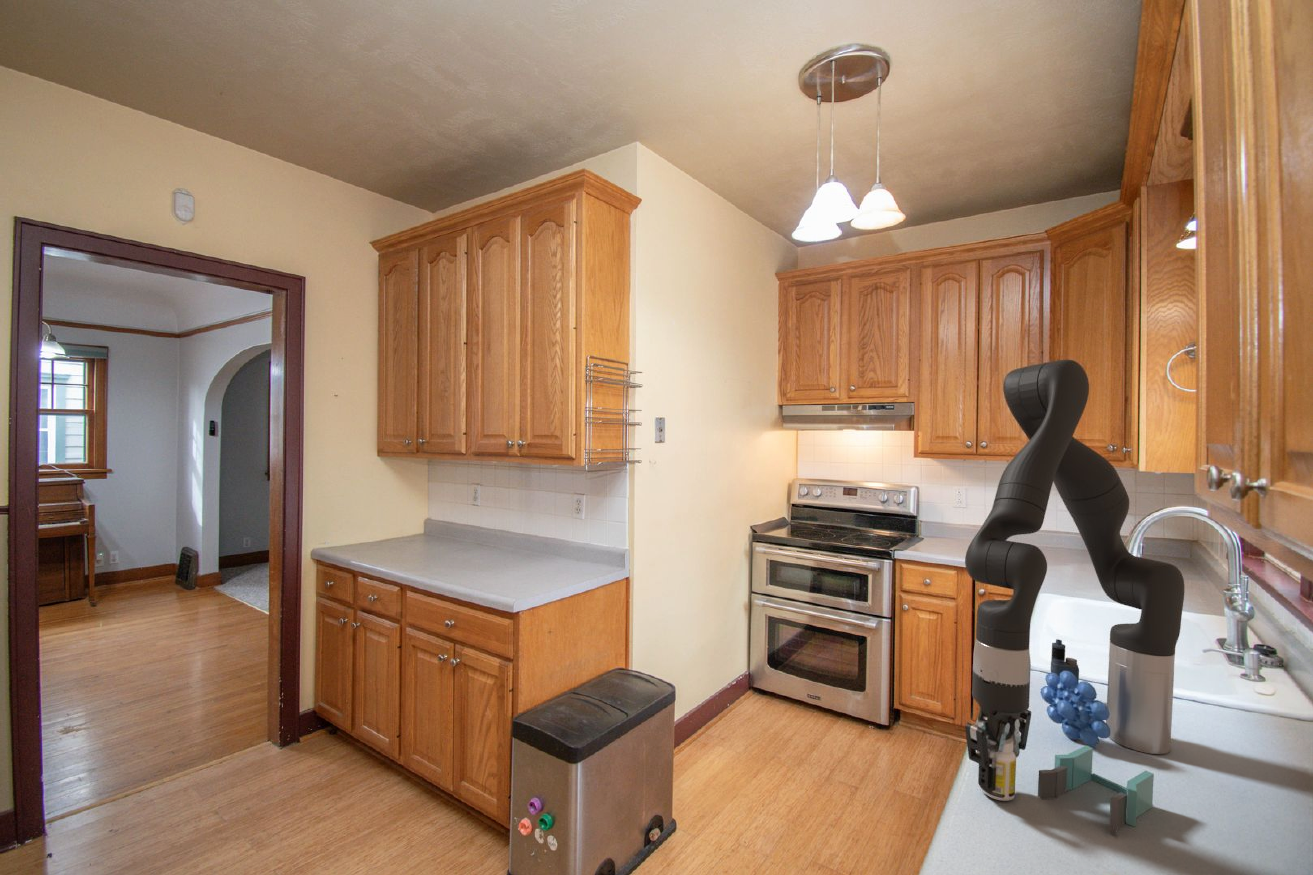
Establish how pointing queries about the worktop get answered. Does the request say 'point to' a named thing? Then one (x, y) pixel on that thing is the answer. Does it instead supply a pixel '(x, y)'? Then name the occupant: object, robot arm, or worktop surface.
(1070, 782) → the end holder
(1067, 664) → the vaping device
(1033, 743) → the worktop surface
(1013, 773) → the supplement bottle
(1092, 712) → the grapes
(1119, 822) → the pair of grey blocks
